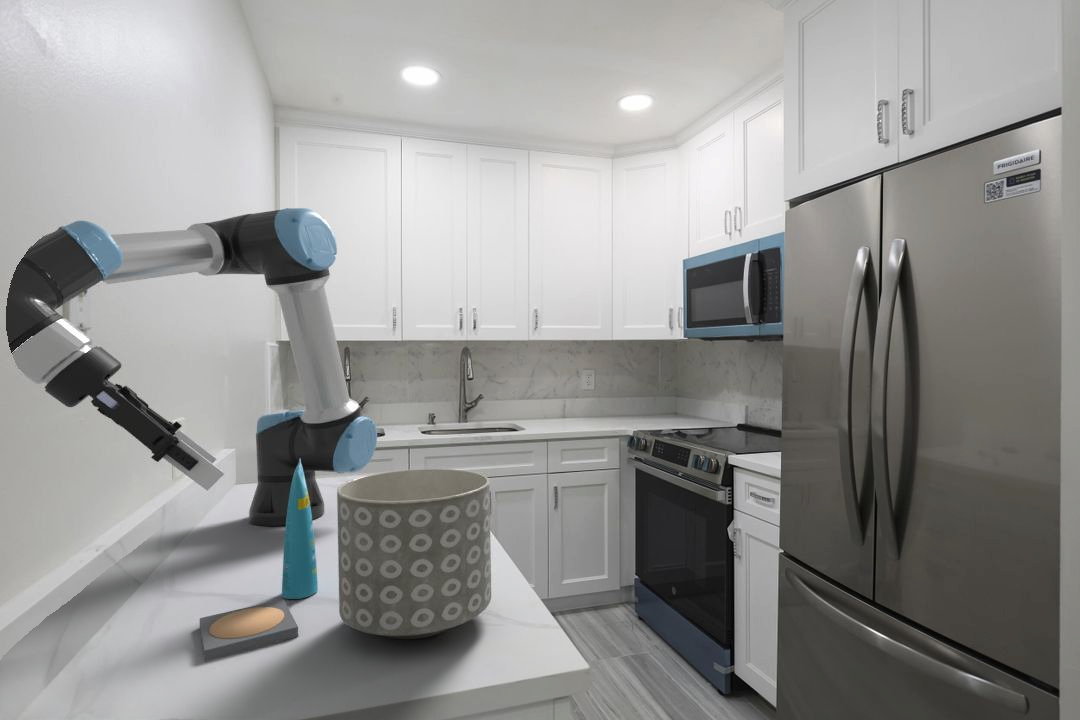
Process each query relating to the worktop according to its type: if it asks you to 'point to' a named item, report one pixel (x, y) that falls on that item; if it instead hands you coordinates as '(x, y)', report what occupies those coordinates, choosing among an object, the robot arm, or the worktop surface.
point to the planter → (413, 551)
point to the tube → (299, 543)
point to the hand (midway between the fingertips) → (212, 473)
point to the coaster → (246, 629)
